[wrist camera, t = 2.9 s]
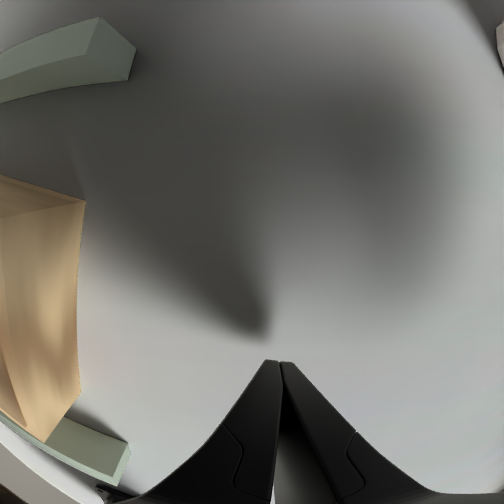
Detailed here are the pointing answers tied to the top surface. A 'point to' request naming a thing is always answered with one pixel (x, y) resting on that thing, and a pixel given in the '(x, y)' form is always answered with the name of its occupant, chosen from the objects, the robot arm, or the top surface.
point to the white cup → (500, 41)
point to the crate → (38, 304)
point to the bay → (47, 79)
